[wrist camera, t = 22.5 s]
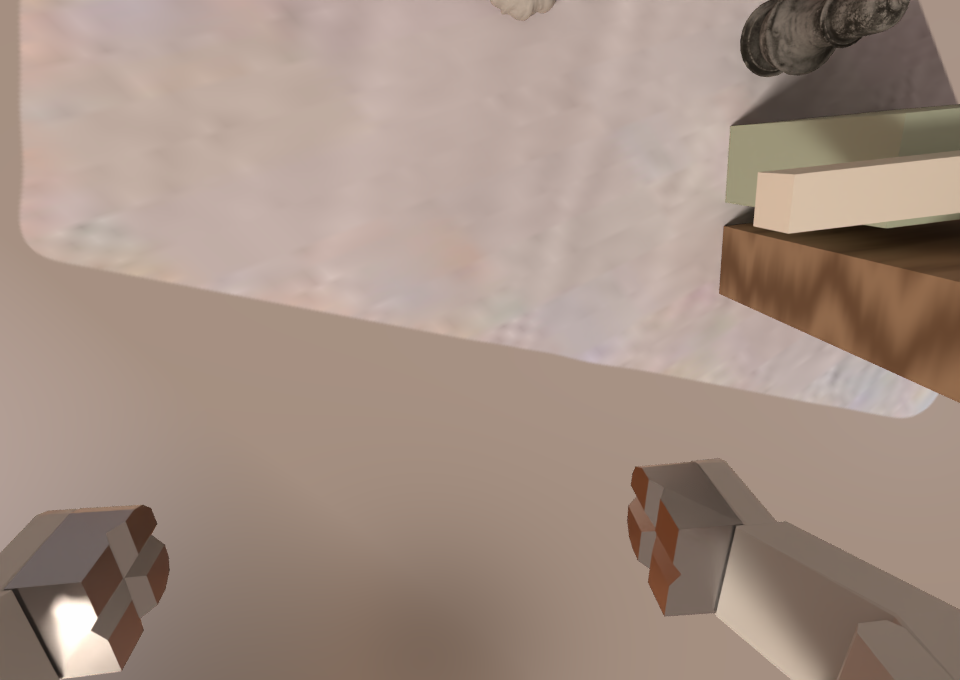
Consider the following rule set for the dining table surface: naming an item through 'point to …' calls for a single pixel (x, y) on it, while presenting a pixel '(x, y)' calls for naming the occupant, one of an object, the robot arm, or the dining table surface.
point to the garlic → (523, 7)
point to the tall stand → (859, 291)
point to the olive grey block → (839, 146)
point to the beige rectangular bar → (858, 192)
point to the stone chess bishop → (810, 31)
